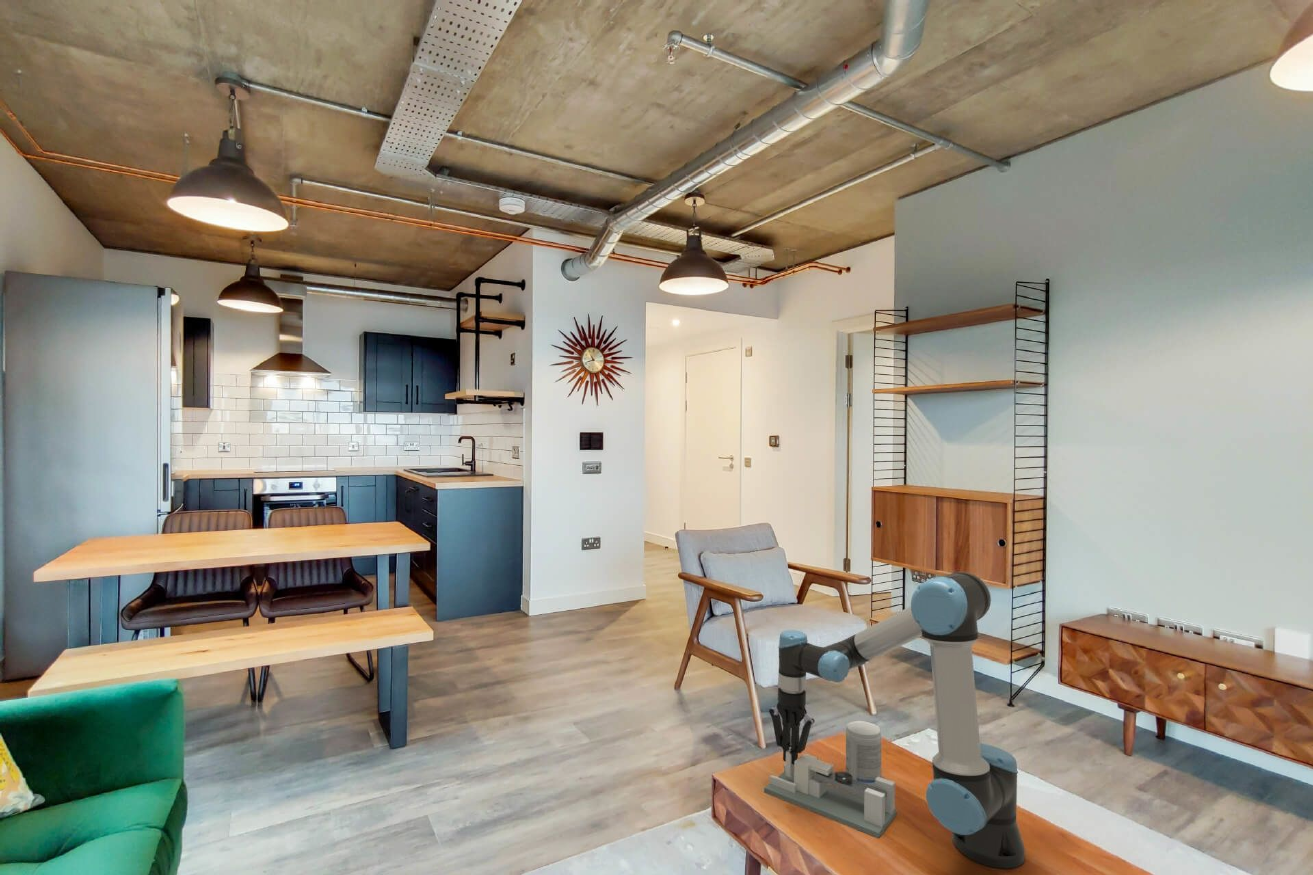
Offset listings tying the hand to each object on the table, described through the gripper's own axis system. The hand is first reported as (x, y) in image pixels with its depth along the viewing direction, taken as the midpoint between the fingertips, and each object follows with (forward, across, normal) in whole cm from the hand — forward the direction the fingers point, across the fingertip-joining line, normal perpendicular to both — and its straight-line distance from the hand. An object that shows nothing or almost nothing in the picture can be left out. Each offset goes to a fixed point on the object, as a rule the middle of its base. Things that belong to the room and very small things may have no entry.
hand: (790, 774), depth 177 cm
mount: (+3, -12, +1) cm, 12 cm away
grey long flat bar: (-2, -17, 0) cm, 17 cm away
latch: (+2, -7, 0) cm, 7 cm away
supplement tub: (+3, -14, -16) cm, 22 cm away
